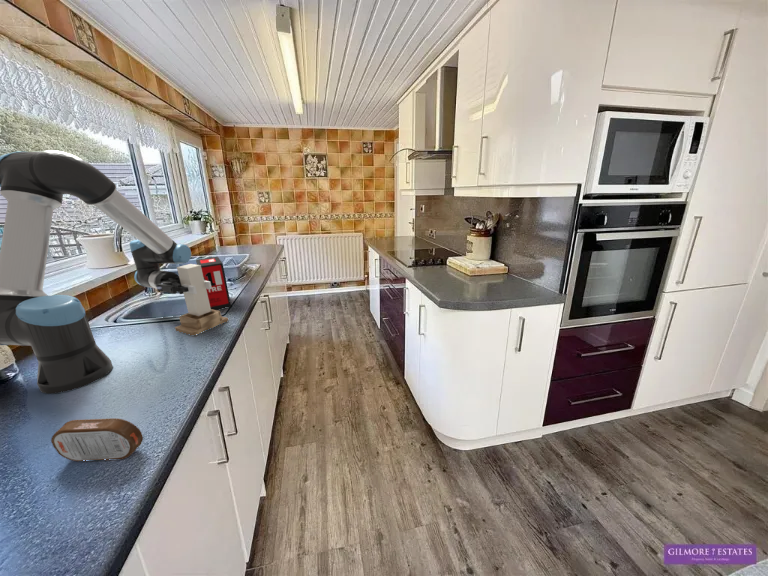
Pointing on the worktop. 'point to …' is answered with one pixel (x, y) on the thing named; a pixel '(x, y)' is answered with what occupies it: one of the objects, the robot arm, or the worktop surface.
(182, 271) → the white rectangular block
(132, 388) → the worktop surface
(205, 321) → the wooden box
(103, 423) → the tin
